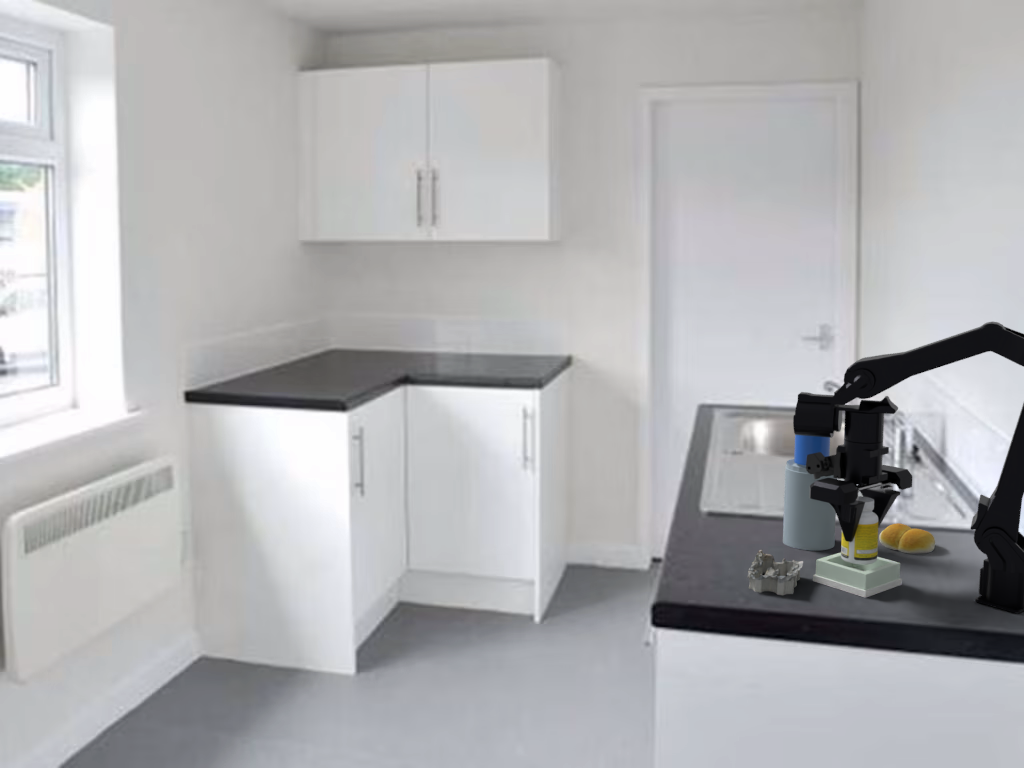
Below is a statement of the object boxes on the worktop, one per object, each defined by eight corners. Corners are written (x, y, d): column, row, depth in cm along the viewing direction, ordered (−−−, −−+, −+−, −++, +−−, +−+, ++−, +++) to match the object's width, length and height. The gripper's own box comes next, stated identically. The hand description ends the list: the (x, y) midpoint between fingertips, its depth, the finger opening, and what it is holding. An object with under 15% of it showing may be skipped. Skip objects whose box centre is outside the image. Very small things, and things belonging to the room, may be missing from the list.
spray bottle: (807, 553, 176) (812, 410, 172) (772, 540, 184) (776, 402, 180) (845, 545, 180) (851, 405, 176) (809, 533, 188) (814, 398, 184)
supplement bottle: (883, 559, 160) (885, 498, 159) (866, 567, 156) (868, 505, 155) (851, 552, 164) (853, 493, 163) (834, 560, 160) (835, 499, 159)
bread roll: (921, 558, 173) (922, 535, 173) (872, 546, 180) (873, 524, 180) (944, 548, 179) (945, 526, 178) (896, 537, 185) (897, 516, 185)
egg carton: (758, 572, 167) (759, 547, 167) (805, 578, 164) (806, 553, 163) (742, 591, 158) (743, 566, 157) (791, 599, 154) (792, 573, 154)
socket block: (901, 584, 160) (902, 563, 159) (865, 597, 154) (866, 575, 154) (849, 569, 167) (850, 548, 167) (813, 581, 162) (813, 559, 161)
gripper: (855, 425, 169) (851, 517, 172) (782, 439, 158) (779, 537, 161) (916, 435, 160) (911, 531, 163) (843, 451, 149) (840, 554, 152)
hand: (859, 537), depth 160 cm, fingers closed on supplement bottle, 5 cm apart
